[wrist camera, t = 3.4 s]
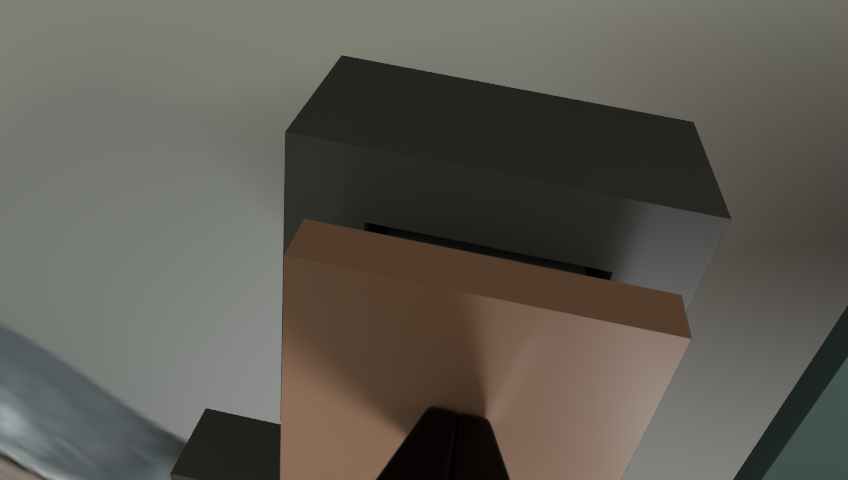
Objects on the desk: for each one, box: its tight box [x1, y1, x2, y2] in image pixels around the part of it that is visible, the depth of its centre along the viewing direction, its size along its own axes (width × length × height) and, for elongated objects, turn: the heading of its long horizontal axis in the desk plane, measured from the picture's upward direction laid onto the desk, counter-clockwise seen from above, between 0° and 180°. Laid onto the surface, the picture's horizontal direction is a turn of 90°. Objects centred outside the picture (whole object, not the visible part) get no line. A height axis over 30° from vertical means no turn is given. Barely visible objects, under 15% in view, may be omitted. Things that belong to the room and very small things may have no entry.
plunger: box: [280, 219, 692, 480], centre depth 11 cm, size 5×5×4 cm
